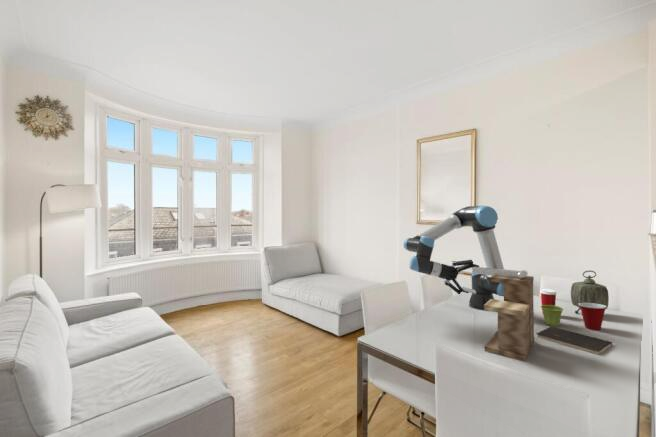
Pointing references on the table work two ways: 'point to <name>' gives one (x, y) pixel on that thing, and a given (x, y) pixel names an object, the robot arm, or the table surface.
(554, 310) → the plant pot
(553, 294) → the paper cup
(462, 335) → the table surface
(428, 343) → the table surface
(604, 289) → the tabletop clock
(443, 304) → the table surface
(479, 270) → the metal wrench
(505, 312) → the step stand
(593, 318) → the plastic cup
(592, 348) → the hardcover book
